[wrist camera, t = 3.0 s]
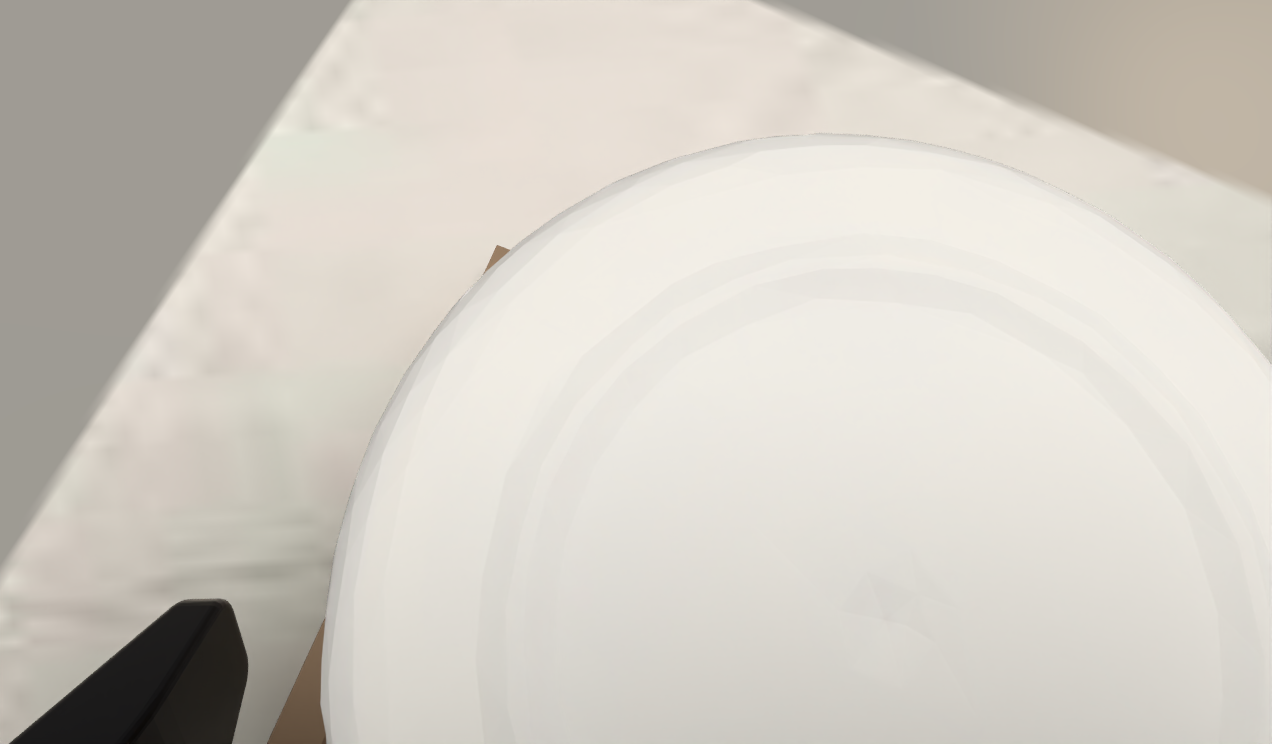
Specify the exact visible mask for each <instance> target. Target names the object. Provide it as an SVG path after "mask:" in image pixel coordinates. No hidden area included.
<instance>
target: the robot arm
mask: <svg viewBox="0 0 1272 744" xmlns="http://www.w3.org/2000/svg"><path fill="white" fill-rule="evenodd" d="M247 676H248V657H247V653H246V650H245V646H244V643H243V640H242V637H241V633H240V630H239V627H238V624H237V620H236V617H235V614H234V611H233V608H232V606H231V605H230V603H229V602H228V601H226V600H223V599H188V600H183V601H181V602H179V603H177V604H175V605H174V606H172V607H171V608H170V609H169V610H167V611H166V612H165V613H164V614H163V615H161V616H160V617H159V618H158V619H157V620H156V621H154V622H153V623H152V624H151V625H150V626H148V627H147V628H146V629H145V630H144V631H142V632H141V633H140V634H139V635H138V636H137V637H135V638H134V639H133V640H132V641H131V642H129V643H128V644H127V645H126V646H125V647H123V648H122V649H121V650H120V651H119V652H117V653H116V654H115V655H114V656H113V657H112V658H110V659H109V660H108V661H107V662H106V663H104V664H103V665H102V666H101V667H100V668H98V669H97V670H96V671H95V672H94V673H93V674H91V675H90V676H89V677H88V678H87V679H85V680H84V681H83V682H82V683H81V684H79V685H78V686H77V687H76V688H75V689H73V690H72V691H71V692H70V693H69V694H68V695H66V696H65V697H64V698H63V699H62V700H60V701H59V702H58V703H57V704H56V705H54V706H53V707H52V708H51V709H50V710H49V711H47V712H46V713H45V714H44V715H43V716H41V717H40V718H39V719H38V720H37V721H35V722H34V723H33V724H32V725H31V726H29V727H28V728H27V729H26V730H25V731H24V732H22V733H21V734H20V735H19V736H18V737H16V738H15V739H14V740H13V741H12V742H10V743H9V744H232V741H233V737H234V733H235V728H236V724H237V720H238V716H239V712H240V707H241V703H242V699H243V695H244V691H245V687H246V682H247Z"/></svg>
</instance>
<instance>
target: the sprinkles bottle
mask: <svg viewBox="0 0 1272 744" xmlns="http://www.w3.org/2000/svg"><path fill="white" fill-rule="evenodd" d="M320 705H321V711H322V716H323V721H324V727H325V732H326V744H1272V364H1271V363H1270V362H1269V361H1268V360H1267V358H1266V357H1265V356H1264V355H1263V354H1262V352H1261V351H1260V350H1259V349H1258V348H1257V346H1256V345H1255V344H1254V343H1253V342H1252V340H1251V339H1250V338H1249V337H1248V336H1247V334H1246V333H1245V332H1244V331H1243V330H1242V328H1241V327H1240V326H1239V325H1238V324H1237V322H1236V321H1235V320H1234V319H1233V318H1232V317H1231V316H1230V315H1229V314H1228V313H1227V312H1226V311H1225V310H1224V309H1223V308H1222V307H1221V305H1220V304H1219V303H1218V302H1217V301H1216V300H1215V299H1214V298H1213V297H1212V296H1211V295H1210V294H1209V293H1208V292H1207V291H1206V290H1205V289H1204V288H1203V287H1202V286H1201V285H1200V284H1199V283H1198V282H1197V281H1195V280H1194V279H1193V278H1192V277H1191V276H1190V275H1189V274H1188V273H1187V272H1186V271H1185V270H1183V269H1182V268H1181V267H1180V266H1179V265H1178V264H1177V263H1176V262H1175V261H1174V260H1173V259H1171V258H1170V257H1169V256H1168V255H1166V254H1165V253H1163V252H1162V251H1161V250H1159V249H1158V248H1157V247H1155V246H1154V245H1152V244H1151V243H1150V242H1148V241H1147V240H1145V239H1144V238H1143V237H1141V236H1140V235H1138V234H1137V233H1135V232H1134V231H1133V230H1131V229H1130V228H1128V227H1127V226H1125V225H1124V224H1122V223H1121V222H1120V221H1118V220H1117V219H1115V218H1113V217H1112V216H1110V215H1109V214H1107V213H1105V212H1104V211H1102V210H1101V209H1099V208H1097V207H1095V206H1093V205H1091V204H1089V203H1087V202H1085V201H1083V200H1081V199H1079V198H1077V197H1075V196H1073V195H1071V194H1069V193H1067V192H1065V191H1063V190H1061V189H1059V188H1057V187H1055V186H1053V185H1051V184H1048V183H1046V182H1044V181H1042V180H1040V179H1038V178H1036V177H1033V176H1031V175H1029V174H1027V173H1025V172H1023V171H1020V170H1017V169H1014V168H1012V167H1009V166H1006V165H1003V164H1001V163H998V162H995V161H992V160H990V159H986V158H982V157H979V156H975V155H972V154H968V153H964V152H961V151H957V150H953V149H950V148H946V147H941V146H936V145H931V144H926V143H922V142H917V141H912V140H904V139H895V138H887V137H878V136H869V135H852V134H832V133H816V134H809V135H792V136H774V137H767V138H760V139H753V140H746V141H739V142H735V143H731V144H727V145H723V146H720V147H716V148H712V149H708V150H704V151H701V152H697V153H693V154H689V155H685V156H682V157H678V158H675V159H672V160H669V161H666V162H663V163H661V164H658V165H656V166H653V167H651V168H648V169H646V170H643V171H641V172H638V173H635V174H633V175H630V176H628V177H625V178H623V179H620V180H618V181H616V182H614V183H612V184H610V185H608V186H607V187H605V188H603V189H601V190H600V191H598V192H596V193H594V194H593V195H591V196H589V197H587V198H586V199H584V200H582V201H580V202H579V203H577V204H575V205H573V206H572V207H570V208H568V209H567V210H565V211H563V212H561V213H560V214H558V215H557V216H555V217H554V218H552V219H551V220H550V221H548V222H547V223H545V224H544V225H543V226H541V227H540V228H539V229H537V230H536V231H534V232H533V233H532V234H530V235H529V236H527V237H526V238H525V239H523V240H522V241H521V242H519V243H518V244H517V245H516V246H515V247H514V248H512V249H511V250H510V251H509V252H508V253H507V254H506V255H504V256H503V257H502V258H501V259H500V260H499V261H498V262H496V263H495V264H494V265H493V266H492V267H491V268H490V269H488V270H487V271H486V272H485V273H484V275H483V276H482V277H481V278H480V279H479V280H478V281H477V282H476V283H475V284H474V285H473V286H472V287H471V288H470V289H469V290H468V291H467V292H466V293H465V294H464V295H463V296H462V297H461V298H460V300H459V301H458V302H457V303H456V304H455V305H454V306H453V308H452V309H451V310H450V311H449V313H448V314H447V315H446V317H445V318H444V319H443V321H442V322H441V323H440V325H439V326H438V327H437V329H436V330H435V331H434V332H433V334H432V335H431V337H430V338H429V340H428V341H427V342H426V344H425V345H424V347H423V348H422V350H421V351H420V352H419V354H418V355H417V357H416V358H415V360H414V361H413V362H412V364H411V365H410V367H409V368H408V370H407V371H406V372H405V374H404V376H403V378H402V379H401V381H400V383H399V385H398V387H397V389H396V391H395V392H394V394H393V396H392V398H391V400H390V402H389V404H388V405H387V407H386V409H385V411H384V413H383V415H382V417H381V418H380V420H379V422H378V424H377V426H376V428H375V430H374V432H373V435H372V437H371V440H370V442H369V445H368V448H367V450H366V453H365V455H364V458H363V460H362V463H361V466H360V468H359V471H358V473H357V476H356V479H355V482H354V485H353V488H352V491H351V494H350V497H349V501H348V504H347V508H346V511H345V515H344V519H343V522H342V526H341V530H340V533H339V537H338V541H337V544H336V548H335V552H334V557H333V564H332V571H331V577H330V584H329V591H328V597H327V605H326V616H325V627H324V639H323V650H322V663H321V700H320Z"/></svg>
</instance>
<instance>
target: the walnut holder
mask: <svg viewBox="0 0 1272 744" xmlns="http://www.w3.org/2000/svg"><path fill="white" fill-rule="evenodd" d="M509 251H510V250H509V249H506V248H503V247H501V246H498V245H497V246H496V248H495V250H494V253H493V255H492V257H491V259H490V261H489V263H488V266H487V268H486V270H485V272H486V271H487V270H488V269H490V268H491V267H492V266H493V265H494V264H495V263H496V262H498V261H499V260H500V259H501V258H502V257H503V256H504V255H506V254H507V253H508V252H509ZM485 272H484V273H485ZM483 275H484V274H483ZM324 627H325V619H324V621H323V623H322V625H321V628H320V630H319V632H318V634H317V636H316V638H315V641H314V643H313V645H312V647H311V649H310V651H309V654H308V656H307V658H306V660H305V662H304V664H303V667H302V669H301V671H300V673H299V675H298V677H297V680H296V682H295V684H294V686H293V688H292V690H291V693H290V695H289V697H288V699H287V701H286V703H285V706H284V708H283V710H282V712H281V714H280V716H279V719H278V721H277V723H276V725H275V727H274V729H273V732H272V734H271V736H270V738H269V740H268V742H267V744H326V732H325V727H324V721H323V716H322V711H321V705H320V700H321V663H322V650H323V639H324Z"/></svg>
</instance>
